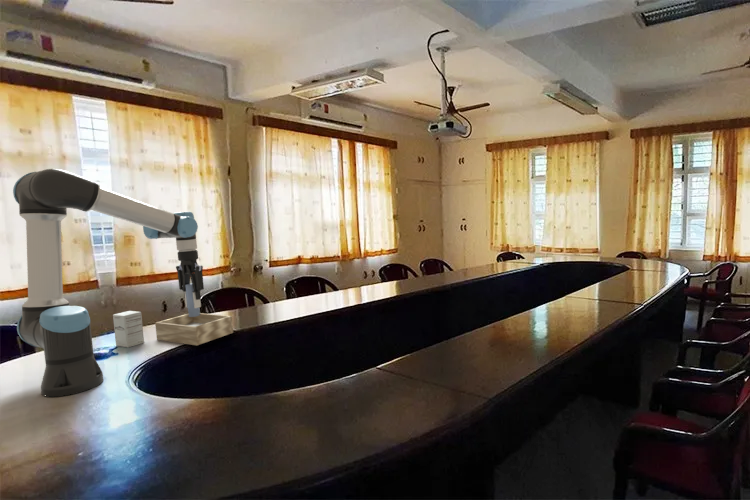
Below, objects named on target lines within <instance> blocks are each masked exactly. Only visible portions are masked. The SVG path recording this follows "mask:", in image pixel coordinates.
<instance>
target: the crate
mask: <svg viewBox="0 0 750 500" xmlns="http://www.w3.org/2000/svg"><path fill="white" fill-rule="evenodd" d="M233 323H234V322H233V316H232V315H223V314H222V315H221V314H216V313H215V314H213V313H203V312H202V313H201V312H200V315H199V316H196V317H189V315H188V313H185V314H182V315H179V316H175V317H171V318H168V319H164V320H161V321H160V320H159V321H156V322H155V323H154V324H155V333H156V340H157V341H163V342H164V341H165V342H170V343H171V342H172V343H177V344H178V343H179V344H183V343H184V344H185V345H190V346H191V345H192V346H199V345H202V344H205V343H208V342H210V341H214V340H216V339H219V338H222V337H224V336H229V335H230V334H233V333H234V325H233Z"/></svg>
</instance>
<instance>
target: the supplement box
mask: <svg viewBox="0 0 750 500" xmlns="http://www.w3.org/2000/svg"><path fill="white" fill-rule="evenodd" d="M112 318H113V319H112V321H113V327H114V328H113V329H114V337H115V339H114V340H115V346H116V347H124V348H131V347H135V346H137V345H141V344H143V343H145V339H144V338H145V337H144V327H143V325H144V324H143V317H142V312H141V311H135V310H127V311H122V312H118V313H114V314H112Z"/></svg>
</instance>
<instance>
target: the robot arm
mask: <svg viewBox="0 0 750 500" xmlns="http://www.w3.org/2000/svg"><path fill="white" fill-rule="evenodd" d="M12 189H13V190H12V194H13V198H14V200H15V202H16V203H17V204H18V207H19V208H18V209H19V216H20V217H21V218H23V219H24V220H25V222H26V223H25V224H26V225H25V227H26V228H25V229H26V230H25V231H26V232H25V233H26V261H27V262H26V264H27V265H26V266H27V296H28V297H27V300H26V301H24V303H23V304H22V305H21V314H22V315H21V316H20V317H19V318H18V321H17V324H16V331H17V335H19V337H20V339H21V340H22V341H23V342H25V343H26V344H28V345H30V346H32V347H35V348H41V349H43V354H44V362H45V369H44V373H43V376H42V380H41V385H40V391H41V395H42V394H43V395H46V396H58V397H64V396H63V395H65V396H69V395H70V394H71V395H75V394H79V393H83V392H86V391H87V390H90V389H93V388H96V387H97V386H99V385H101V384H102V383H103V382H104V373H103V371H102V369H101V367H100V365H99V364H98V362H97V360H96V358H95V354H94V346H93V345H94V344H93V337H92V329H91V317H90V315H89V311H88V309H87V308H86V307H84V306H80V305H79V306H78V305H70V301H68V299H66V298H65V297H64V290H63V289H64V287H63V286H64V285H63V283H64V282H63V258H62V257H63V253H62V252H63V249H62V221H63V220H64V219H65V218H66V217H67V216H68V213H67V209H74V210H79V211H81V212H82V211H83V212H84V213H86V212H90V211H92V212H93V211H94V212H97V213H100V214H103V215H106V216H110V217H113V218H116V219H120V220H122V221H126V222H129V223H133V224H136V225H139V226H142V228H143V234H144V236H145V237H146V238H147V239H150V240H157V239H170V238H171V239H175V241H176V242H175V245H176V250H177V260H178V262H180V264H179V265H176V266H175V269H176V272H177V278H178V281H177V282H178V287H179V290H180V291H181V290H182V292H183V295H184V296H183V298H184V303H185V308H187V309H188V305H187V296H186V287H185V285H186V284H192V285H193V289H194V291H192V292H193V301H194V308H198V307H200V308H201V307H202V303H201V297H202V295H201V292H202V291H203V290H204V289H205V287H204V276H203V274H204V273H203V268H204V266H203V265H199V264H198V261H197V260H198V259H199V251H198V250H197V249H198V245H197V244H198V243H197V232H198V228H199V226H198V223H197V220H196V219H195V216H194V212H191V211H182V212H181V211H179V212H178V211H177V212H173V213H172V212H170V211H167V210H164V209H162V208H159V207H156V206H154V205H150V204H148V203H145V202H142V201H140V200H138V199H134V198H131V197H129V196H125V195H123V194H120V193H117V192H115V191H112V190H110V189H107V188H103V187H101V186H100V184H99V182H96V181H94V180H92V179H88V178H86V177H84V176H81V175H78V174H75V173H73V172H69V171H68V170H63V169H58V168H47V169H43V170H39V171H32V172H28V173H25V174H24V175H22V176H21V177H19V179H17V180H16V182H15V183H14V186H13V188H12ZM196 288H197V289H196ZM43 395H42V396H43ZM71 395H70V396H71ZM46 396H45V397H46Z"/></svg>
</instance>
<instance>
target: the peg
mask: <svg viewBox="0 0 750 500" xmlns="http://www.w3.org/2000/svg"><path fill="white" fill-rule="evenodd" d="M185 287H186V296H187V305H188V307H187V312H188V313H187V314H188V315H189V317H196V316H199V315H200V313H201V309H200V308H201V307H198V308H194V301H193V292H192V291H194V289H193V285H192V283H190V284H186V285H185ZM196 289H197V288H196Z"/></svg>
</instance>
